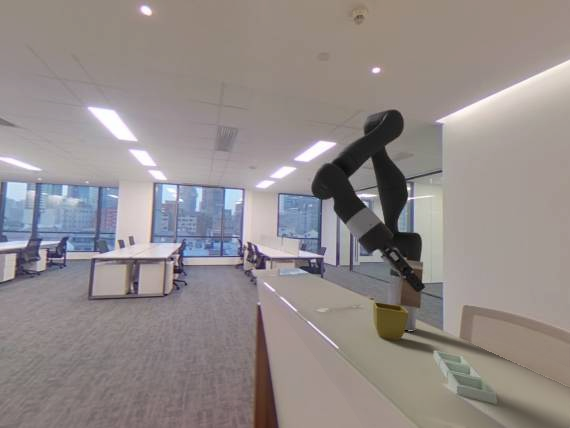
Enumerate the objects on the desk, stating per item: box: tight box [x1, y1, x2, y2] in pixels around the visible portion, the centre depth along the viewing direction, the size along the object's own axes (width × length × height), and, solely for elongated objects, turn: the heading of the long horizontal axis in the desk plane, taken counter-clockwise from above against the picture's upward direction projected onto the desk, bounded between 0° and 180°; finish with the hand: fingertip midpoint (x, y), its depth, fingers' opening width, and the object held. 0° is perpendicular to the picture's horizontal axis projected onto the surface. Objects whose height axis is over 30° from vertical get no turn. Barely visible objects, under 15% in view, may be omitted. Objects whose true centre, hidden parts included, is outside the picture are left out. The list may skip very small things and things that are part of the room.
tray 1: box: [433, 350, 472, 367], centre depth 62 cm, size 6×6×2 cm
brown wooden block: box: [398, 259, 424, 309], centre depth 61 cm, size 4×4×10 cm
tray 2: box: [439, 360, 483, 380], centre depth 56 cm, size 6×6×2 cm
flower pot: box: [372, 301, 409, 341], centre depth 79 cm, size 9×9×9 cm
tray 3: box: [447, 372, 498, 405], centre depth 50 cm, size 6×6×2 cm
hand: (419, 288), depth 61 cm, fingers closed on brown wooden block, 4 cm apart
